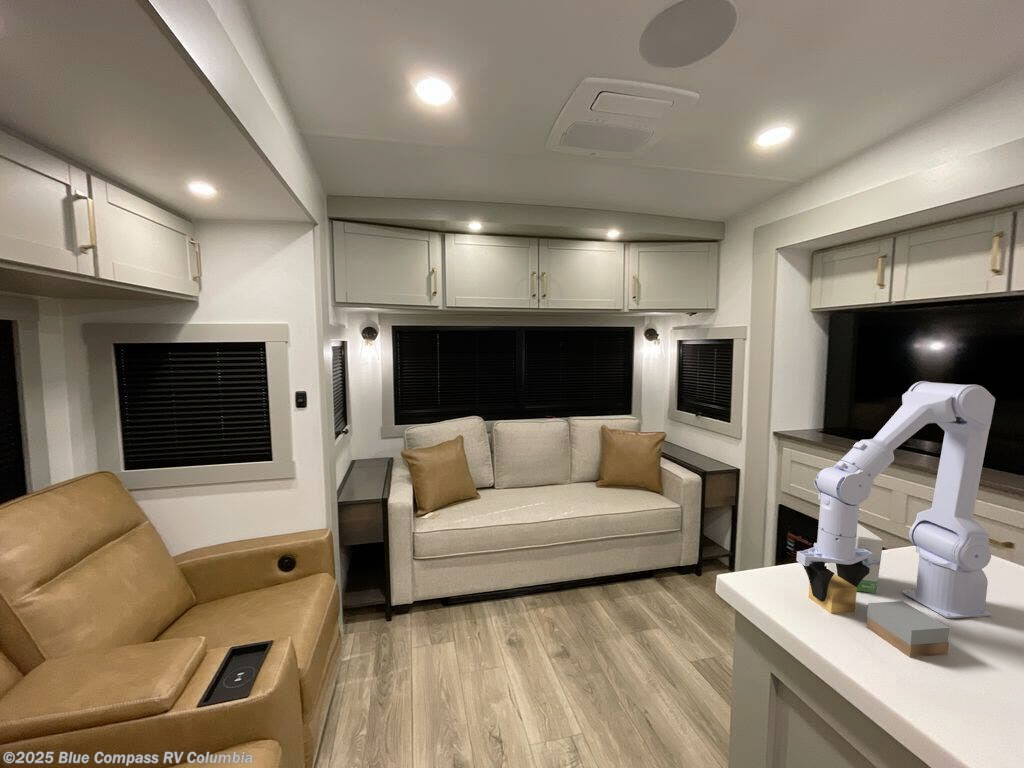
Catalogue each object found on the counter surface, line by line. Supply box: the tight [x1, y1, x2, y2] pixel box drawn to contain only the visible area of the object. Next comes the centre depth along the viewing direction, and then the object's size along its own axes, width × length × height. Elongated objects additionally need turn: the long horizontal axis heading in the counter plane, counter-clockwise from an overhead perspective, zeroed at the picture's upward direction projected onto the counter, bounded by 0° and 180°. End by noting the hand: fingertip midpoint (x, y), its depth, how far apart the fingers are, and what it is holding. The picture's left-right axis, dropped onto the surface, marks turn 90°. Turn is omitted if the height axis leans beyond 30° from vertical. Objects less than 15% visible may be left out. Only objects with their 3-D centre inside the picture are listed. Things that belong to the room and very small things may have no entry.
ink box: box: [827, 523, 884, 594], centre depth 85 cm, size 9×5×12 cm, turn 168°
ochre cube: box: [808, 574, 858, 615], centre depth 77 cm, size 5×5×5 cm
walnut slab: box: [866, 617, 949, 658], centre depth 68 cm, size 7×7×2 cm
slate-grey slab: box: [866, 600, 950, 645], centre depth 67 cm, size 7×7×2 cm
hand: (831, 597), depth 77 cm, fingers closed on ochre cube, 5 cm apart
